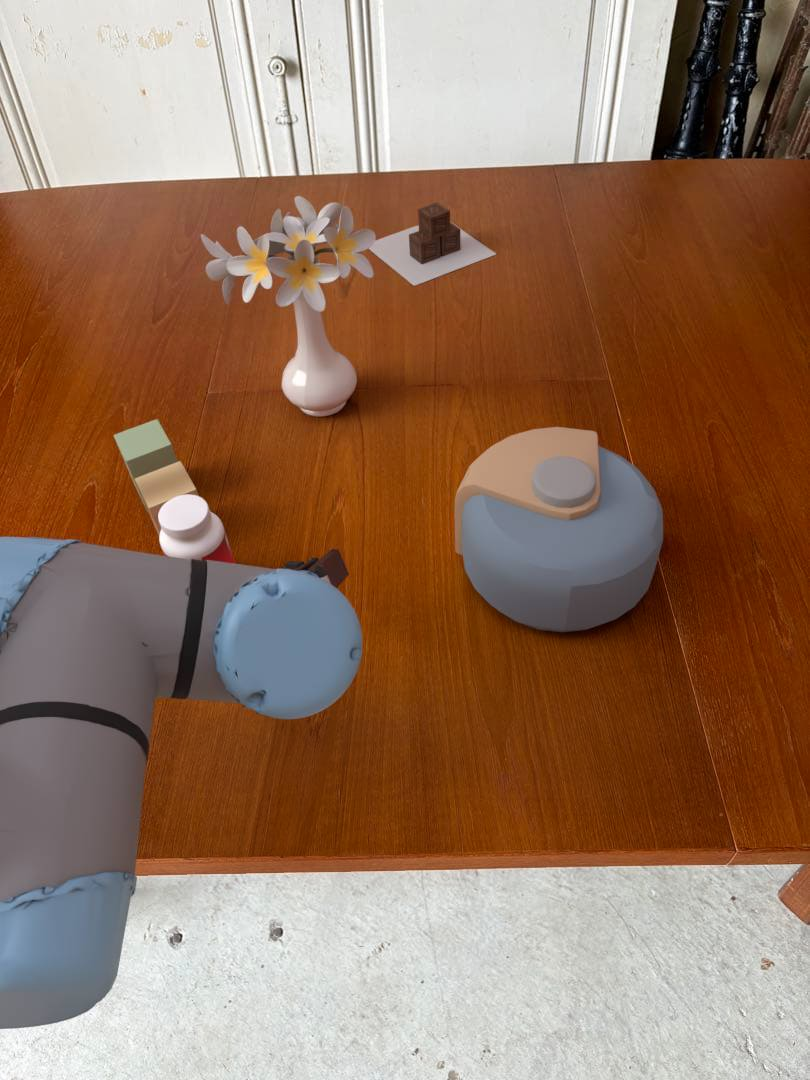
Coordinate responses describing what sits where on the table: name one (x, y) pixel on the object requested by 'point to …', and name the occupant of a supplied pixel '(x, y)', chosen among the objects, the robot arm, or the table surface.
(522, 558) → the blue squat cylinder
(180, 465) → the maple block
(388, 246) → the stack of crates
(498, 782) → the table surface
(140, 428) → the sage block
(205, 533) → the pill bottle
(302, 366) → the flower vase
